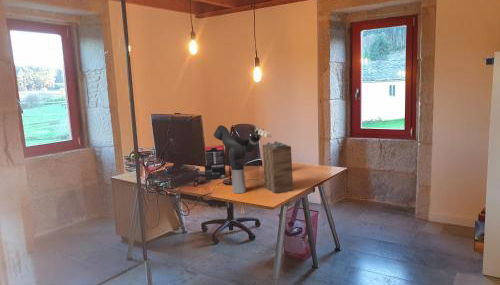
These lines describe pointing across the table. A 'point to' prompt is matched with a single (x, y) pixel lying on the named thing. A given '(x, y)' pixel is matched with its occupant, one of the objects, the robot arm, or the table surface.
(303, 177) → the table surface
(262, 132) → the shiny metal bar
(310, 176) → the table surface
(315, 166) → the table surface
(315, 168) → the table surface
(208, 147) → the graphics card box
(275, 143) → the walnut cabinet
